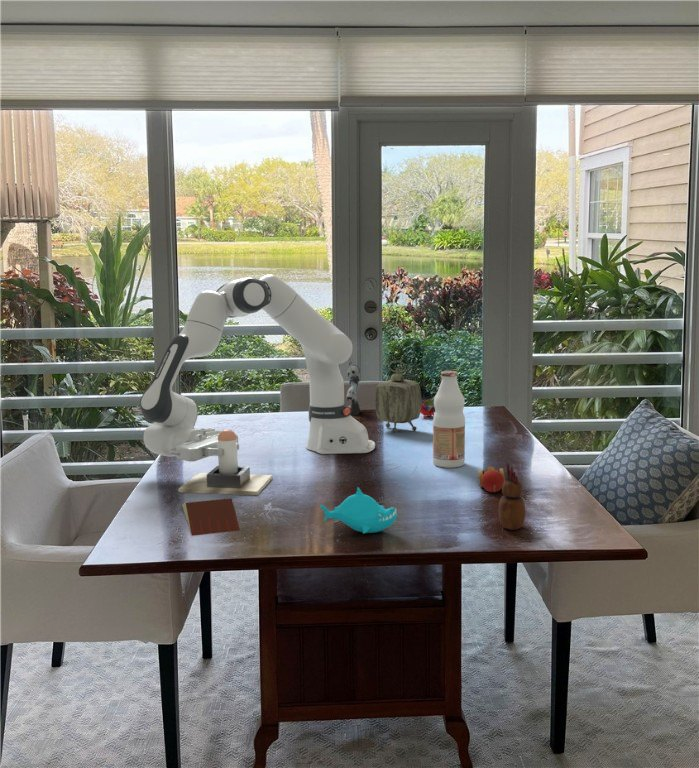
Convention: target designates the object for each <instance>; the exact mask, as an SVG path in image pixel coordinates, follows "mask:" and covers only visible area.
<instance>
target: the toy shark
mask: <svg viewBox="0 0 699 768" xmlns="http://www.w3.org/2000/svg"><path fill="white" fill-rule="evenodd" d="M319 507H320V508H321V509H322V511H323V512H324V519H323V521H324V522H326V521H327V520H328V519H333V521H337V520H338V521H340V522H342V523H343V524H345V525H346V526H348V527H349V528H351V529H352V530H354V531H356V532H360V533H362V534H372V533H374V534H375V533H378V532H382V531H384V530H385V529H387V528H389V527H390V526H392V525H393V524H394V523H395V521H396V520H397V518H398V513H397V508H396V507H395V506H393V507H392V506H391V507H390V508H385V506H384V505H380V504H379V502H377V501H376V499H374V498H373V497H372V496H370V495H367V494H364V493H363V492H362V490H361V489H360V487H358V486H357V487H356V493H354V494H352V495H350V496H347V497H346V498H345V499H344V500H343V501H342V502H341V503H340V504H339V505H338V506H334V509H333V510H328V509H327V507H326V506H325V505H322V504H320V505H319Z"/></svg>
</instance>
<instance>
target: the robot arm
mask: <svg viewBox="0 0 699 768" xmlns="http://www.w3.org/2000/svg"><path fill="white" fill-rule="evenodd" d="M261 310H263V311H264V312H265V313H266V315H267V314H268V316H269V317H270V318H271V319H272V320H273V321H275V322H276V323H277V325H279V327H281V328H282V329H283V330H284V331H285V332H286V333H287V334H288V335H290V336H291V337H292V338H294V339H295V340H296V341H298V342H299V343H300V346H301V349H302V352H303V354H304V359H305V365H306V370H307V374H308V375H307V376H308V381H309V405H308V420H309V421H308V422H309V430H308V437H307V441H306V445H305V449H307V450H309V451H312V452H316V453H318V454H321V455H328V454H329V455H330V454H331V455H332V454H336V455H337V454H367V453H370V452H371V451H374V449H375V448H376V443H375V441H373V440H371V439H369V434H368V430H367V427H365V426H364V424H362V423H360V421H358V420H356V418H354V417H353V416H352V415H350V413H351V410H350V406H351V405H347V404H346V403H345V387H344V385H345V384H344V383H345V381H344V378H343V376H342V373H341V369H340V366H339V365H341V364H344V363H345V362H347V361H348V360H350V358H351V356H352V353H353V346H354V345H353V343H352V340H351V339H350V338H349V337H348V336H347V334H345V333H343V331H342V330H340V329H339V328H338V327H337V326H335V324H333V323H332V322H331V321H330V320H328V319H327V317H326V318H325V317H324V316H323V315H322V314H320V313H319V312H318V311H316V310H315V309H314V308H313V307H312V306H311V305H310V304H309V303H308V302H307V301H306V300H305V299H304V298H303V297H302V296H300V294H299V293H298V292H296V290H295V289H293V287H291V286H290V285H289V284H287V283H286V282H285V281H284V280H282V279H281V278H279V277H278V276H276V275H273V274H266V275H265V274H264V275H263V276H261V277H260V278H259V279H258V278H254V277H243V278H237V279H234V280H231V281H230V282H229V283H225V284H223V285H222V286H220V287H219V288H217V290H216V291H215V290H204V291H201V292H199V293H198V294H197V296H196V298H195V299H194V301H193V302H192V305H191V307H190V309H189V312H188V314H187V317H186V319H185V320H186V321H185V323H184V326H183V327H182V330H181V331H180V332H179V334H178V335H175V336H173V338H172V339H171V340H170V342H169V344H168V345H167V347H166V349H165V351H164V353H163V356H162V358H161V360H160V363H159V365H158V367H157V368H156V371H155V372H154V375H153V377H152V379H151V381H150V383H149V384H148V385H147V387H146V389H145V390H144V392H143V394H142V395H141V397H140V402H139V407H140V412H141V414H142V417H143V418H144V419H145V420H147V421H149V422H153V423H152V424H151V425H149V426H147V427H146V429H145V430H144V432H143V443H144V445H145V446H146V449H147V450H148V451H150V452H152V453H154V454H155V455H160V456H163V457H170V458H171V457H172V458H173V457H176V459H178V460H181V461H186V462H197V461H199V460H202V459H205V458H208V457H213V456H216V457H218V456H221V455H224V449H222V448H218V435H219V433H220V432H221V431H222V430H216V428H214V427H204V428H196V427H195V425H196V423H197V418H198V416H199V415H198V414H199V409H198V406H197V404H196V403H197V402H195V400H194V399H192V398H189V397H187V396H185V395H182V394H179V393H177V392H175V391H173V385H174V383H175V381H176V379H177V377H178V375H179V372H180V370H181V368H182V367H183V366H182V365H183V364H184V363H185V362H186V361H187V360H189V359H192V358H201V357H202V358H203V357H206V356H209V355H210V354H212V353H214V352H215V351H216V349H217V347H219V344H220V340H221V338H222V334H223V331H224V327H225V323H226V322H227V320H228V318H229V319H231V318H233V319H234V318H241V317H245V316H249V315H251V314H254V313H257V312H259V311H261ZM236 437H237V451H238V450H240V444H239V436H238V434H236Z"/></svg>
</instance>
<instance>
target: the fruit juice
mask: <svg viewBox="0 0 699 768" xmlns="http://www.w3.org/2000/svg"><path fill="white" fill-rule="evenodd" d="M440 378H441V382H440V384H439V387H438V390H437V392H436V394H435V397H434V396H433V397H434V407H435V412H434V416H433V417H432V419H433V421H432V433H433V434H432V462H433V464H434V466H435V467H439V468H445V469H446V468H449V469H451V468H452V469H453V468H454V469H455V468H459V467H462V466H464V464H465V462H466V461H465V460H466V459H465V457H466V455H465V454H466V451H465V449H466V447H465V446H466V445H465V444H466V438H465V437H466V436H465V435H466V418H465V414H464V407H465V405H466V403H465V397H464V395H463V393H462V391H461V388H460V386H459V383H458V371H455V370H443V371H441V372H440Z"/></svg>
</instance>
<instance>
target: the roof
mask: <svg viewBox="0 0 699 768" xmlns="http://www.w3.org/2000/svg"><path fill="white" fill-rule="evenodd" d="M181 507H182V510H183V512H184V516H185V519H186V522H187V525H188V529H189V531H190V535H191V537H192V536H193V537H195V536H202V535H203V536H204V535H213V534H220V533H221V534H222V533H227V532H228V533H230V532H236V531H241V529H240V524H239V522H238V515H237V514H236V513H237V512H236V510H235V506H234V502H233V498H232V497H231V498H221V499H209V500H200V501H199V500H198V501H189V502H184V504H182V505H181Z"/></svg>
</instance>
